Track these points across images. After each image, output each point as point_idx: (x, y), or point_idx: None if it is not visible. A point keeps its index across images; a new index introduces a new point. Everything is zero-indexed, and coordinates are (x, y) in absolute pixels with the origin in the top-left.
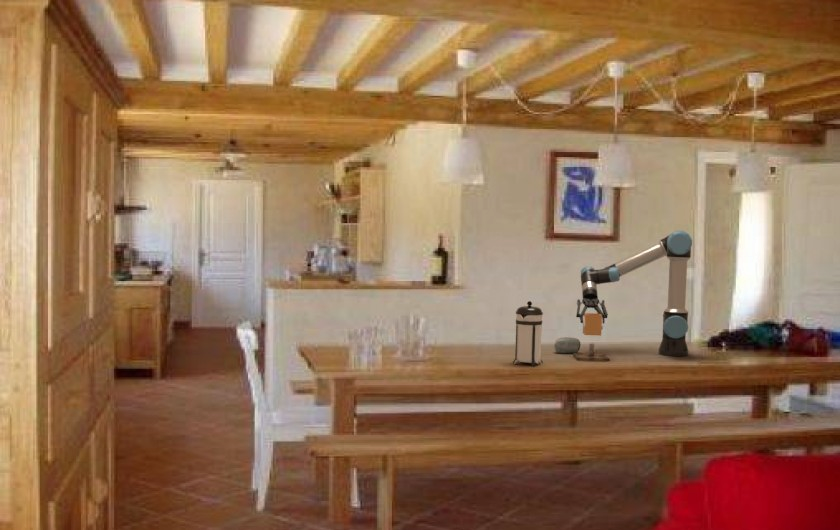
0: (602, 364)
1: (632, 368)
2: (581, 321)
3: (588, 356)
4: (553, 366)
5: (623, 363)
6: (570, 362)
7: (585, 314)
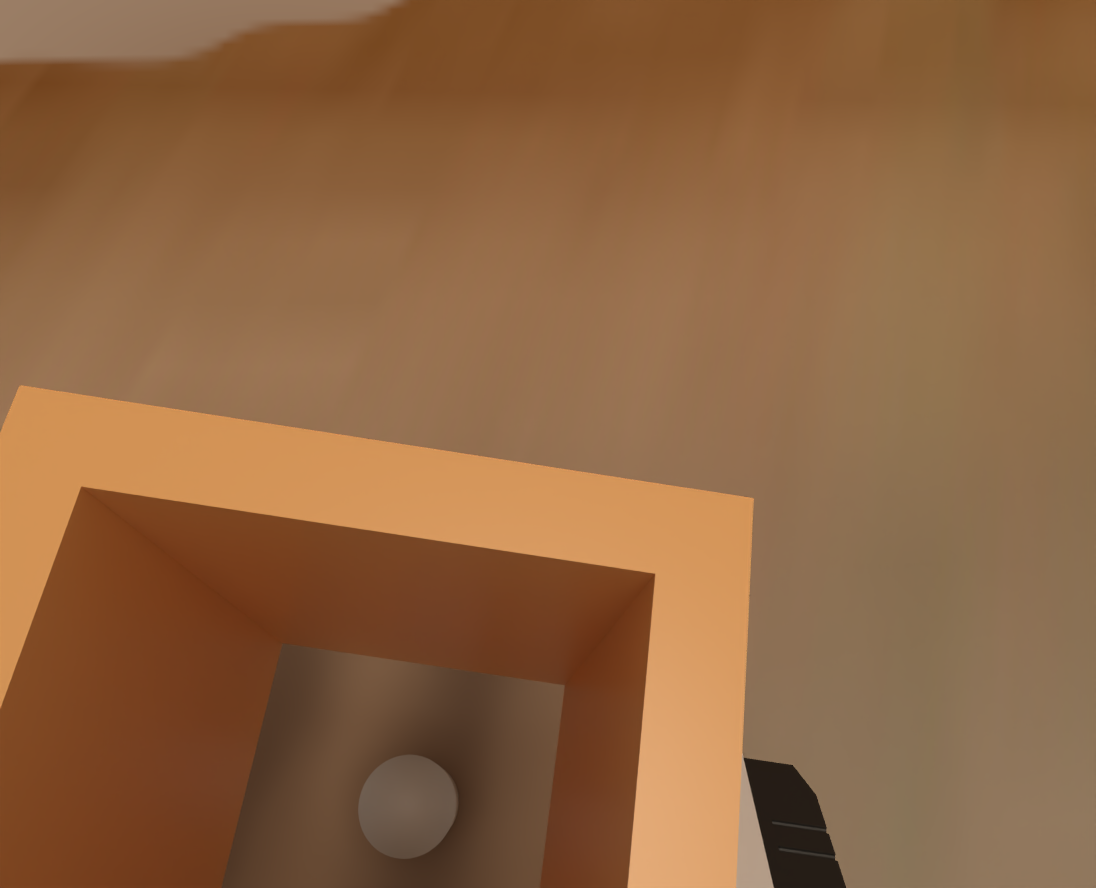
0: (427, 351)
1: (182, 125)
2: (778, 777)
3: (489, 731)
4: (1003, 234)
5: None
6: (788, 480)
7: (729, 659)
